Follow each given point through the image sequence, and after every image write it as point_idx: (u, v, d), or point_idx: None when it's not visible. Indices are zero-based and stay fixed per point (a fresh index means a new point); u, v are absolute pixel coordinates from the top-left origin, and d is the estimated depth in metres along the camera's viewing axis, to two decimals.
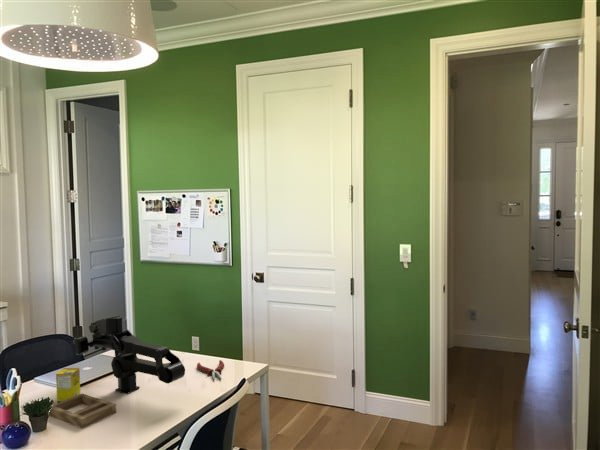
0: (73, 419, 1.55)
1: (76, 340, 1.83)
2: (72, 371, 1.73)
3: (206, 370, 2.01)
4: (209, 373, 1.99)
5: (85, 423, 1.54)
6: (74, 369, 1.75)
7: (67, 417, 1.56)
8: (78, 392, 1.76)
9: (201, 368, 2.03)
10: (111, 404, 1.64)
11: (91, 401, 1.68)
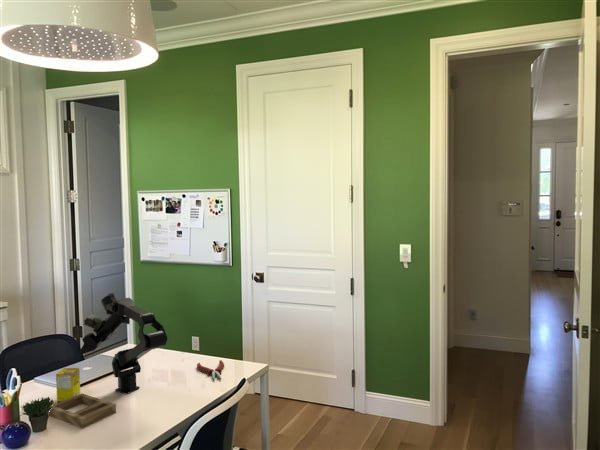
0: (73, 419, 1.55)
1: (84, 338, 1.78)
2: (72, 371, 1.73)
3: (206, 370, 2.01)
4: (209, 373, 1.98)
5: (85, 423, 1.54)
6: (74, 369, 1.75)
7: (67, 417, 1.56)
8: (78, 392, 1.76)
9: (201, 368, 2.03)
10: (111, 404, 1.64)
11: (91, 401, 1.68)
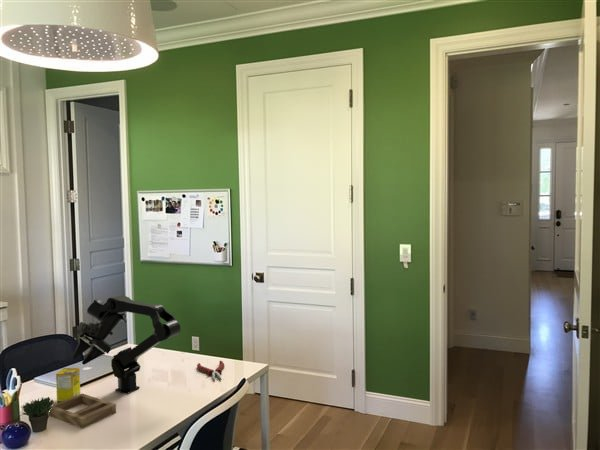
0: (73, 419, 1.55)
1: (98, 342, 1.72)
2: (72, 371, 1.73)
3: (206, 370, 2.00)
4: (209, 373, 1.98)
5: (85, 423, 1.54)
6: (74, 369, 1.75)
7: (67, 417, 1.56)
8: (78, 392, 1.76)
9: (201, 368, 2.02)
10: (111, 404, 1.64)
11: (91, 401, 1.68)
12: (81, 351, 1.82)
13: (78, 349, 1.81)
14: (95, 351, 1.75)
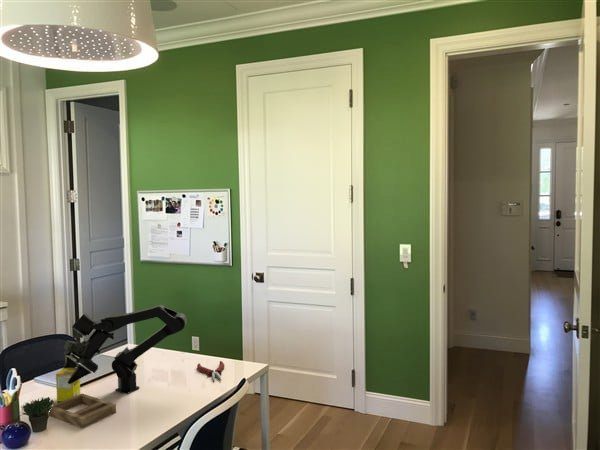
0: (73, 419, 1.55)
1: (85, 362, 1.69)
2: (72, 371, 1.73)
3: (206, 371, 2.00)
4: (209, 374, 1.98)
5: (85, 423, 1.54)
6: (74, 369, 1.75)
7: (67, 417, 1.56)
8: (78, 392, 1.76)
9: (201, 369, 2.02)
10: (111, 404, 1.64)
11: (91, 401, 1.68)
12: None
13: None
14: (81, 370, 1.72)
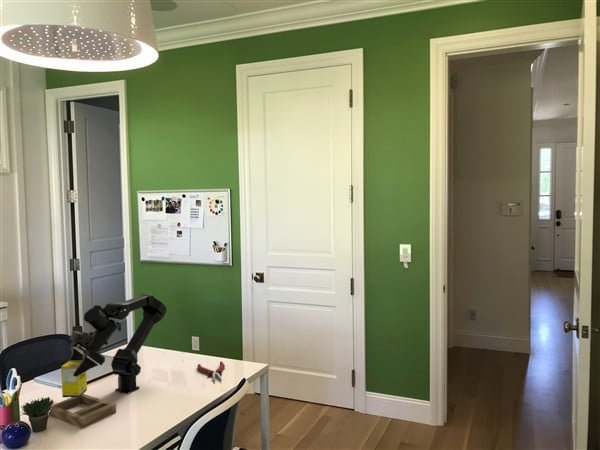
0: (73, 419, 1.55)
1: (91, 353, 1.60)
2: (78, 364, 1.64)
3: (206, 371, 1.99)
4: (209, 374, 1.97)
5: (85, 423, 1.54)
6: (80, 362, 1.66)
7: (67, 417, 1.56)
8: (84, 386, 1.67)
9: (201, 369, 2.02)
10: (111, 404, 1.64)
11: (91, 401, 1.68)
12: None
13: (71, 360, 1.69)
14: (87, 362, 1.63)
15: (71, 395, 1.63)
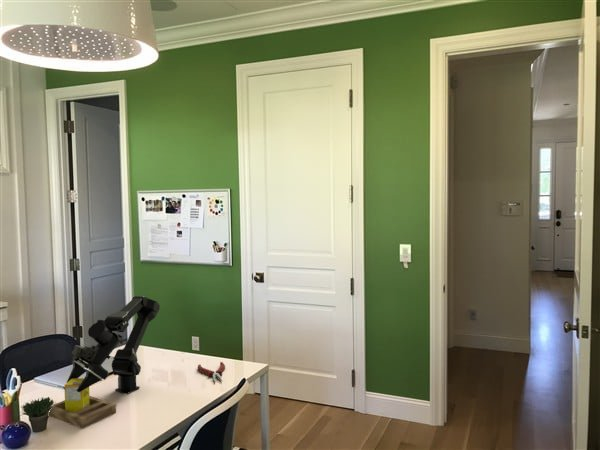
0: (73, 419, 1.55)
1: (95, 368, 1.59)
2: None
3: (207, 372, 1.99)
4: (210, 375, 1.96)
5: (85, 423, 1.54)
6: None
7: (67, 417, 1.56)
8: (87, 404, 1.66)
9: (202, 370, 2.01)
10: (111, 404, 1.64)
11: (91, 401, 1.68)
12: (76, 376, 1.68)
13: (73, 374, 1.67)
14: (91, 377, 1.61)
15: None
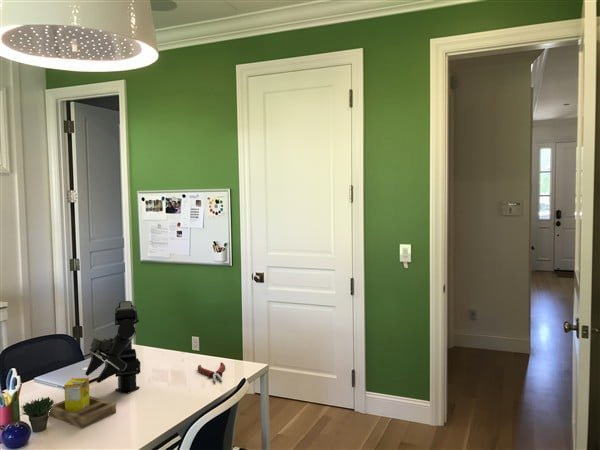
0: (73, 419, 1.55)
1: (114, 360, 1.65)
2: (81, 382, 1.63)
3: (207, 372, 1.98)
4: (210, 375, 1.96)
5: (85, 423, 1.54)
6: (83, 379, 1.65)
7: (67, 417, 1.56)
8: (87, 404, 1.66)
9: (202, 370, 2.00)
10: (111, 404, 1.64)
11: (91, 401, 1.68)
12: (94, 367, 1.74)
13: (91, 366, 1.73)
14: (110, 368, 1.67)
15: None
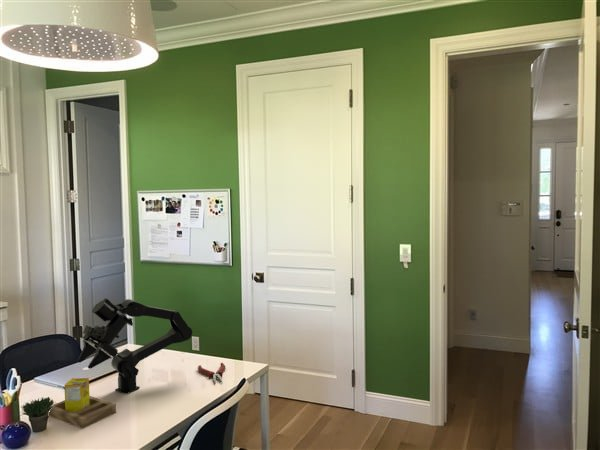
0: (73, 419, 1.55)
1: (105, 346, 1.68)
2: (81, 382, 1.63)
3: (207, 373, 1.98)
4: (210, 376, 1.96)
5: (85, 423, 1.54)
6: (83, 379, 1.65)
7: (67, 417, 1.56)
8: (87, 404, 1.66)
9: (202, 371, 2.00)
10: (111, 404, 1.64)
11: (91, 401, 1.68)
12: (86, 354, 1.77)
13: (84, 353, 1.77)
14: (101, 355, 1.71)
15: None
